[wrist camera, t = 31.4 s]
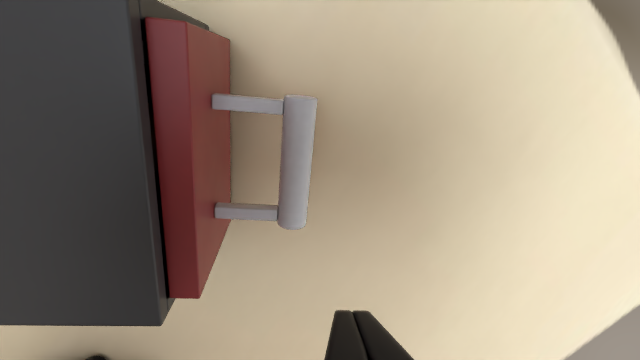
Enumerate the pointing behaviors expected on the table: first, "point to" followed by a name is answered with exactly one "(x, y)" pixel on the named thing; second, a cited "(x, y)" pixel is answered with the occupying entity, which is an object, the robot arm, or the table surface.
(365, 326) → the robot arm
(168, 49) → the pod drawer
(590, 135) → the table surface
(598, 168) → the table surface
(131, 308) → the drawer cabinet
